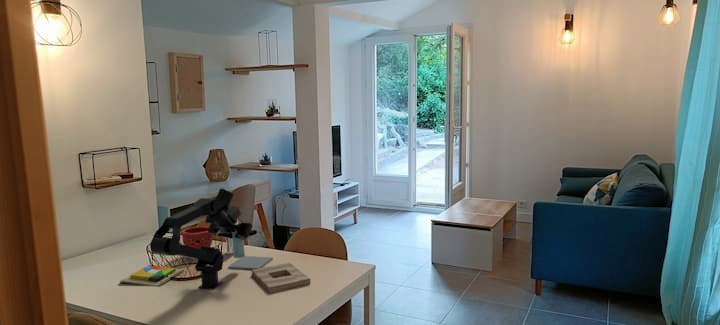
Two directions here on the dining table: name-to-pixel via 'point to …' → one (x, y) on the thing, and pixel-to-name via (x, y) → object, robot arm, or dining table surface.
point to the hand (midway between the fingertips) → (240, 238)
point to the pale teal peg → (238, 246)
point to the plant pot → (197, 237)
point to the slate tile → (250, 262)
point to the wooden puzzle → (152, 275)
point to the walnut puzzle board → (290, 281)
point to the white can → (230, 243)
